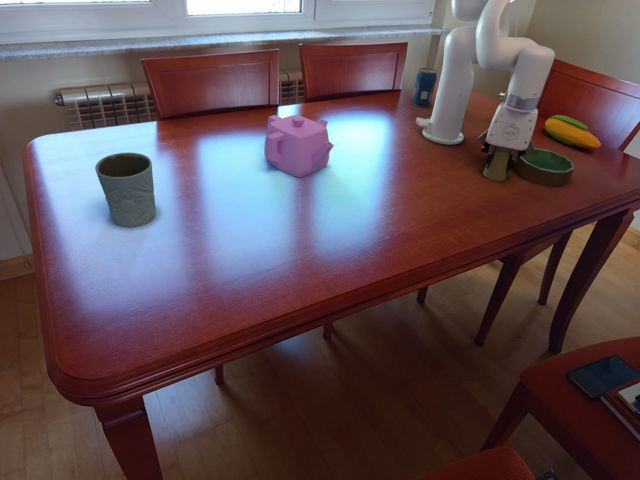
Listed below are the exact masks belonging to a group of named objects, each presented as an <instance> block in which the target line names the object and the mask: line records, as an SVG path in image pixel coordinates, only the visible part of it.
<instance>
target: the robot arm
mask: <svg viewBox="0 0 640 480" xmlns="http://www.w3.org/2000/svg"><path fill="white" fill-rule="evenodd" d="M514 1H515V0H451V4H450V5H451V14H452V17H453V18H454V19H455V20H457V21H461V22H477V25H463V26H459V27H456V28H453V29H452V30H451V31H450V32H449V33H448V34H447V36H446V37H445V41H444V45H443V60H442V61H443V62H442V68H441V72H440V77H439V81H438V86H437V91H436V94H435V99H434V104H433V108H432V113H431V116H430V118H426V119H425V118H423V117H416V119H415V122H414V123H415V124H416V125H417V126H418V127H421V128H423V129H422V135H423V137H424V138H426V139H427V140H428V141H431V142H433V143H436V144H440V145H449V146H450V145H452V146H454V145H458V144H461V143H462V142H463V141H464V138H465V136H464V134H463V133H462V132H461V130H462V126H463V122H464V119H465V116H466V112H467V108H468V105H469V103H470V102H469V101H470V98H471V94H472V91H473V86H474V83H475V77H474V71H473V67H472V65H479V66H480V68H481V69H482V70H484V71H486V72H512V75H511V78H510V80H509V84H508V87H507V89H506V91H505V92H501V91H500V92H499V95H498V99H501V100H502V101H501V102H500V103H499V105H498V107H497V108H496V110H495V113H494V114H493V117H492V120H491V123H490V125H489V127H488V128H487V129H486V130H484V131H483V132H482V133H481V134H479V135H478V139H477V140H478V142H479V143H480V144H481V145H482V146H483V145H484V147H485V149H486V150H487V152H488V153H487V155H486V158H485V161H484V164H485V165H486V166H487V169H488V168H489V165H490V163H491V161H492V159H493V153H494V149H495V148H496V146H500V147H506V148H509V149H513V151H512V152H513V153H512V154H511V157H510V159H509V161H508V164H507V168H506V172H505V173H507V174H508V172H509V170H512V168H513V167H514V164H515V162H516V159H517V158H518V157H520V156H522V155H524V154H527V153H531V152H533V151H534V148H535V146H534V141H533V139H532V136H533V134H534V130H535V127H536V124H537V119H538V115H539V110H538V108H537V106H538V103H539V100H540V98H541V95H542V93H543V90H544V87H545V85H546V82H547V80H548V77H549V74H550V71H551V68H552V66H553V63H554V61H555V57H556V53H555V51H554V49H552V48H550V47H548V46H544V45H540V44H538V43H537V42H535V41H534V40H532V39H531V38H529V37H509V34H510V17H511V16H510V15H511V3H512V2H514Z"/></svg>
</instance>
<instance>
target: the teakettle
mask: <svg viewBox="0 0 640 480" xmlns="http://www.w3.org/2000/svg"><path fill="white" fill-rule="evenodd" d="M328 123H329V121H328V120H326V119H319V121H318V122H316V121H314V120H311V119H310V118H307V117H305V116H302V115H298V114H292V115H288V116H286V117H280V116H278V115H275V114H273V115H270V116H268V117H267V130H266V134H265V138H264V157H265V160H266V162H267V163H269V164H270V165H272V166H273V167H274V168H276V169H278V170H280V171H282V172H284V173H286V174H288V175H291V176H293V177H295V178H303V177H306V176H308V175H310V174H313V173H315V172H318V171H319V170H322V169H324V168H326V167H327V165H328V163H329V160H330V152H331V151H332V149H333V148H334V146H335V145H334V144H333V143H332V142H331V141H330V139H329V132H328V128H327V126H328Z"/></svg>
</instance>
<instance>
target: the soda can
mask: <svg viewBox="0 0 640 480" xmlns="http://www.w3.org/2000/svg"><path fill="white" fill-rule="evenodd" d="M437 78H438V76H437V71H436V70H435V69H432V68H427V67H423V68H420V69H419V70H418V72H417V73H416V77H415V83H414V88H413V92H412V98H411V101H412V105H414V106H416V107H419V108H427V107H428V106H430V104H431V103H432V100H433V96H434V91H435V87H436V82H437Z"/></svg>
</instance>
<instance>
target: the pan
mask: <svg viewBox="0 0 640 480" xmlns="http://www.w3.org/2000/svg"><path fill="white" fill-rule="evenodd" d="M494 150H495V149H494ZM480 153H485V154H488V152H487V150H486V149H485V147H484V145H483V144H482V146H481V149H480ZM512 153H513V151H512V152H511V154H512ZM513 167H514V171H515V172H516V174H517V175H519V176H520V177H522V178H523V179H525V180H527V181H529V182H532V183H535V184H539V185H541V186H547V187H548V186H549V187H560V186H564V185H566V184H567V183H569V182H570V179H571V177H572V175H573V173H574V171H575V164H574V162H573V161H572V160H570V159H569V158H568V157H567V156H564V155H563V154H560V153H557V152H555V151H552V150H548V149H543V148H535V147H534V151H533V152H531V153H527V154H524V155H522V156H520V157H518V158H517V159H516V160H515V161H514V166H513Z"/></svg>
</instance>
